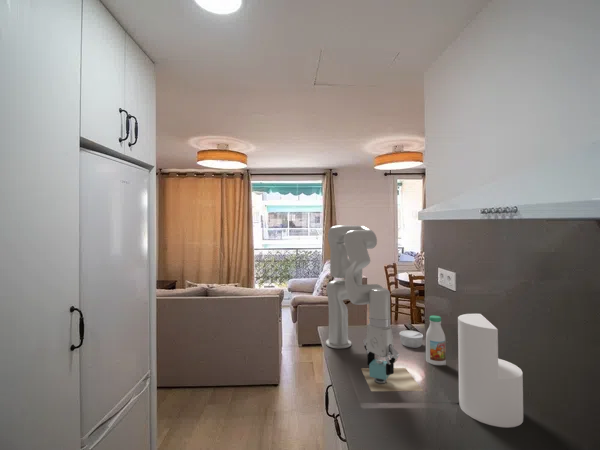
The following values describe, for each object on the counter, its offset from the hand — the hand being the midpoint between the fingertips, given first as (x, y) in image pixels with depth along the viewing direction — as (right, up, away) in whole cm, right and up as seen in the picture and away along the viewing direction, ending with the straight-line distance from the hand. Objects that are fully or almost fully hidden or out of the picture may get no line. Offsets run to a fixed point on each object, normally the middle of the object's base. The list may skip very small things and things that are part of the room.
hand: (380, 369), depth 116 cm
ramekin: (+26, -6, +40) cm, 48 cm away
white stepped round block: (+30, -6, -17) cm, 35 cm away
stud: (0, -5, 0) cm, 5 cm away
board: (+4, -6, +2) cm, 7 cm away
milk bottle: (+28, -6, +17) cm, 33 cm away
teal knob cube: (0, -2, 0) cm, 2 cm away
